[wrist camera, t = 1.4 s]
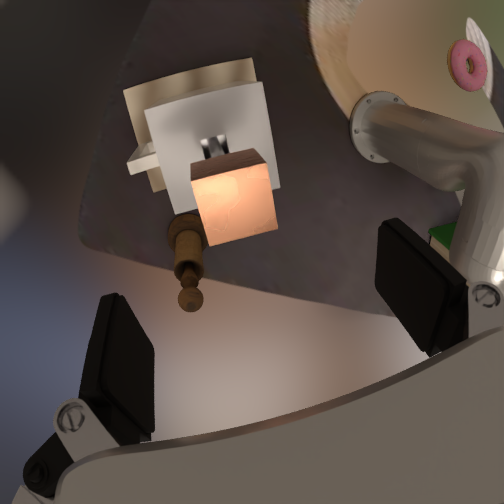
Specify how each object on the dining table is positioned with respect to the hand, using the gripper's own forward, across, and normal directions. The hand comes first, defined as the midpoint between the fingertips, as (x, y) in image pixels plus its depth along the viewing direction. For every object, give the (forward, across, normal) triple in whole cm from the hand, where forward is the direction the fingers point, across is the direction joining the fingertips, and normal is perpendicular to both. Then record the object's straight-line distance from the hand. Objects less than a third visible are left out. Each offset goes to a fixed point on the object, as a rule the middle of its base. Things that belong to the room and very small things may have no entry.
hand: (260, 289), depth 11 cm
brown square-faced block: (+26, 0, 0) cm, 26 cm away
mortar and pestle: (+37, +6, +16) cm, 41 cm away
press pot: (+36, +1, 0) cm, 36 cm away
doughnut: (+37, -50, -7) cm, 63 cm away
